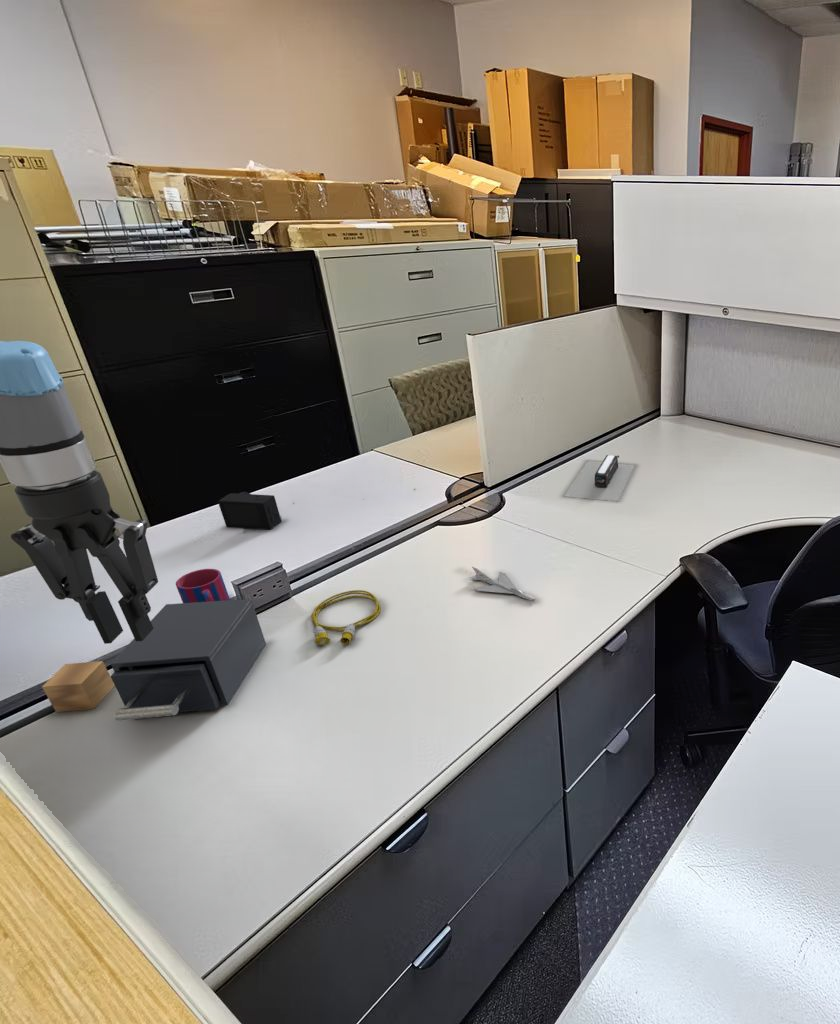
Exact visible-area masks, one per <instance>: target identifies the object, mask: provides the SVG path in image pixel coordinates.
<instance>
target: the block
mask: <svg viewBox="0 0 840 1024" xmlns="http://www.w3.org/2000/svg"><path fill="white" fill-rule="evenodd" d="M110 676H111V675H110V672H109V671H108V669H107V667H106V665H105V663H104V661H103V660H102V661H101V660H100V661H88V662H74V663H64V665H62V667H61V668H60V669H59V670H58V671H56V672H55V673H54V674H53V676H51V677H50V678H49V679H48V680H47V681H46V682H45V683H44V684H43V685H42V686H41V689H42V690H43V692H44V694H45V695H46V697H47V699H48V702H49V703H50V704H51V706H52V708H53V710H54V711H55V713H63V712H72V711H83V710H95V709H96V708H97V707H98V706H99V704H100V703H101V702H102V701H103V700H104V699H105V698H106V696H107V695H108V694H109V693H110V692H111V691H112V690H113V688H115V685H114V683H113V681H112V679H111V677H110Z"/></svg>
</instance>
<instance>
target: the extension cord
mask: <svg viewBox="0 0 840 1024" xmlns="http://www.w3.org/2000/svg"><path fill="white" fill-rule="evenodd" d="M352 598H362V599H363V598H364V599H368V600H371V601H373V602H375V610H374V611H373V613H371V614H370V615H368V616H366V617H364V618H362V619H360V620H357V621H356V622H352V623H350V624H347V625H345V626H330V625H324V624H322V623H319V622H318V621H317V620H318V619H317V618H318V615H319V613H320V612H321V611H322V610H323V609H324V608H325V607H328V606H329V605H332V604H334V603H337V602H339V601H343V600H347V599H352ZM380 613H381V604H380V602H379V601H378V599H377V597H376V596H375V595H374V594H373V593H371V592H370V591H367V590H363V589H362V590H361V589H354V590H347V591H343V592H339V593H336V594H334V595H332V596H329V597H328V598H326V599H324V600H323V601H321V602H320V603H319V604H318V605H316V606H315V607H314V609H313V611H312V613H311V616H310V619H311V621H312V623H314V625H315V628H313V634H314V637H315V639H314V643H316V644H318V645H319V646H325V645H327V644H329V643H330V641H331V638H329V635H328V634H327V631H326V630H328V631H336V632H342V634H341V637H340V640H339V642H340V643H341V644H342V645H349V644H351V640H353V639H354V638H353V637H354V636H355V633H356V632H355V631H356V628H357V627H360V626H362V625H365V624H369V623H370V622H373V620H375V619H376V618H377V617H378V616H379V615H380Z"/></svg>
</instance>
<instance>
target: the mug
mask: <svg viewBox="0 0 840 1024" xmlns="http://www.w3.org/2000/svg"><path fill="white" fill-rule="evenodd" d="M175 587H176V590H177V592H178V594H179V597H180V599H181V602H182V603H195V602H211V601H227V600H231V598H230V595H229V593H228V590H227V587H226V584H225V581H224V578H223V576H222V572H221V571H220V570H219V569H216V568H202V569H197V570H193V571H191V572H188V573H186V574H184V575H182V576H181V577H179V578H178V579H177V580H176V582H175Z"/></svg>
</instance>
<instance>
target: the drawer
mask: <svg viewBox="0 0 840 1024" xmlns="http://www.w3.org/2000/svg"><path fill="white" fill-rule="evenodd" d="M128 668H129V670H120V671H115V672H114V671H113V673H112V674H111V675H110V677H111V679H112V681H113V683H114V685H115V686H114V688H116V691H117V693H118V695H119V697H120V699H121V701H122V703H123V705H124V707H122V708H121V707H120V708H117V709H116V711H115V713H114V720H115V721H127V720H128V721H129V720H138V719H139V720H140V719H149V718H162V717H171V716H176V715H178V714H179V713H184V712H195V711H197V712H198V711H208V710H217V709H218V707H219V706H220V705H219V704H220V702H219V699H218V697H217V696H219V695H218V693H217V690H216V688H215V685H214V683H213V680H212V678H211V675H210V673H209V670H208V668H207V665H206V663H205V661H194V662H181V663H168V664H156V665H143V666H130V667H128Z"/></svg>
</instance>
